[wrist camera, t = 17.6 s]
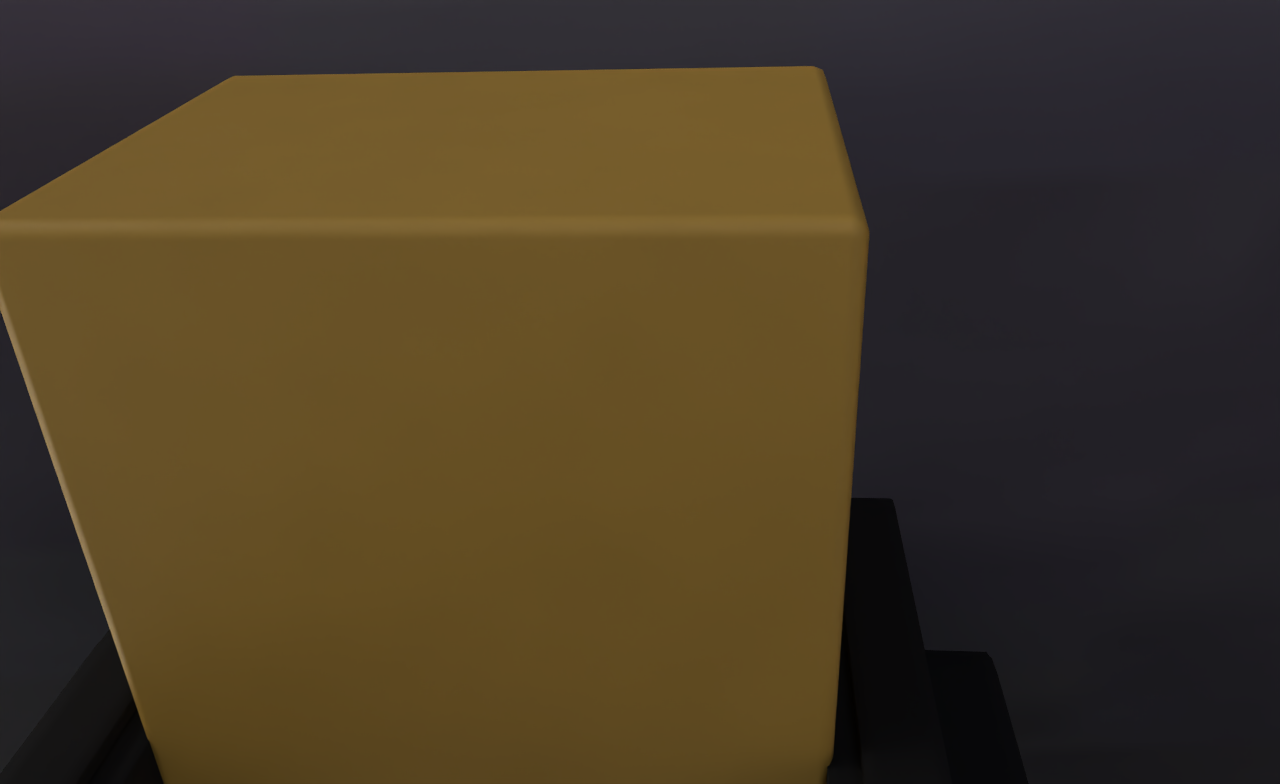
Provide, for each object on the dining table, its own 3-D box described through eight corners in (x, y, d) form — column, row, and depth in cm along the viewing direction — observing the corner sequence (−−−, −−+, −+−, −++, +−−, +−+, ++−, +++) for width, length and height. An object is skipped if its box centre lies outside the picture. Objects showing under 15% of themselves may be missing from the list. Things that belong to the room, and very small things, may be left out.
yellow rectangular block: (226, 73, 8) (-40, 222, 5) (826, 62, 8) (870, 220, 5) (408, 934, 13) (317, 1250, 10) (785, 954, 13) (797, 1288, 10)
